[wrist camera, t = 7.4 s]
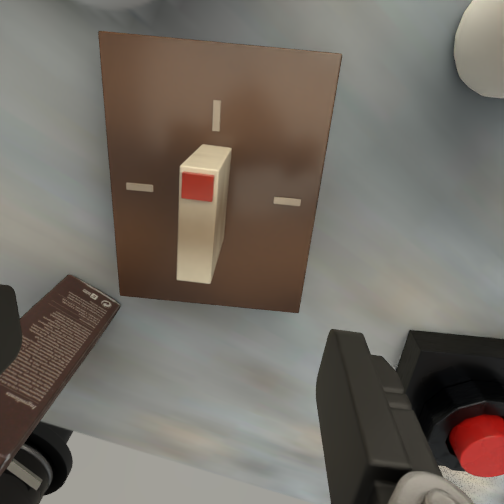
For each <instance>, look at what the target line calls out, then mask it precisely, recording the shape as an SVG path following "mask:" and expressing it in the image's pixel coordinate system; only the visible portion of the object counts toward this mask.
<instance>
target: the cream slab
mask: <svg viewBox="0 0 504 504" xmlns="http://www.w3.org/2000/svg"><path fill="white" fill-rule="evenodd" d="M231 151H232V149H231V148H229V147H221V146H213V145H205V144H202V145H201V146H200V147H199V148H198V149H197V150H196V151H195V152H194V153H193V154H192V155H191V156H190V157H189V158H188V159H187V160H186V161H184V162H183V163H182V164H181V165H180V174H179V209H178V244H177V280H181V281H189V282H197V283H206V284H210V283H211V280H212V277H213V274H214V270H215V267H216V263H217V260H218V257H219V253H220V250H221V246H222V243H223V240H224V231H225V219H226V208H227V197H228V185H229V174H230V162H231Z"/></svg>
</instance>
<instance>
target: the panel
mask: <svg viewBox="0 0 504 504" xmlns="http://www.w3.org/2000/svg"><path fill="white" fill-rule="evenodd" d="M98 35H99V47H100V59H101V71H102V83H103V96H104V108H105V120H106V132H107V144H108V156H109V168H110V180H111V193H112V205H113V217H114V229H115V241H116V253H117V265H118V277H119V290H120V296H129V297H139V298H149V299H159V300H170V301H180V302H190V303H200V304H211V305H221V306H231V307H241V308H252V309H262V310H272V311H282V312H293V313H299V308H300V302H301V296H302V291H303V285H304V279H305V273H306V267H307V261H308V255H309V249H310V243H311V237H312V231H313V225H314V219H315V214H316V208H317V202H318V196H319V190H320V184H321V178H322V172H323V166H324V160H325V154H326V148H327V142H328V137H329V131H330V125H331V119H332V113H333V107H334V101H335V95H336V89H337V83H338V77H339V71H340V65H341V60H342V54H339V53H328V52H317V51H307V50H296V49H286V48H275V47H264V46H254V45H243V44H232V43H222V42H211V41H200V40H190V39H179V38H169V37H158V36H147V35H137V34H126V33H115V32H105V31H99V32H98ZM202 144H205V145H213V146H221V147H229V148H231V149H232V151H231V162H230V174H229V185H228V197H227V208H226V219H225V231H224V240H223V243H222V246H221V250H220V253H219V257H218V260H217V263H216V267H215V270H214V274H213V277H212V280H211V283H210V284H206V283H197V282H189V281H181V280H177V244H178V209H179V174H180V165H181V164H182V163H183V162H184V161H186V160H187V159H188V158H189V157H190V156H191V155H192V154H193V153H194V152H195V151H196V150H197V149H198V148H199V147H200V146H201V145H202Z"/></svg>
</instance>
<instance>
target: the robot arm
mask: <svg viewBox="0 0 504 504" xmlns="http://www.w3.org/2000/svg"><path fill="white" fill-rule="evenodd" d="M21 345H22V330H21V324H20V318H19V312H18V307H17V301H16V295H15V292H14V290H13V288H12V287H11V286H9V285H1V284H0V375H1V374H2V373H3V372H4V371H5V370H6V369H7V368H8V367H9V366H10V364H11V363H12V362H13V361H14V360H15V359H16V357H17V355H18V353H19V351H20V349H21ZM316 402H317V409H318V416H319V423H320V430H321V437H322V444H323V451H324V457H325V464H326V471H327V478H328V485H329V492H330V499H331V504H474V502H473V501H472V500H471V499H470V498H469V497H468V496H467V495H466V494H465V493H464V492H463V491H462V490H461V489H460V488H459V487H457V486H456V485H454V484H453V483H452V482H450V481H448V480H447V479H445V478H443V476H442V474H441V471H440V469H439V467H438V465H437V462H436V460H435V458H434V456H433V453H432V451H431V449H430V446H429V444H428V442H427V440H426V437H425V435H424V433H423V431H422V428H421V426H420V424H419V421H418V419H417V417H416V415H415V412H414V410H412V405H411V403H410V401H409V399H408V396H407V395H406V394H405V390H404V387H403V385H402V383H401V380H400V378H399V376H398V374H397V372H396V371H395V370H394V369H393V368H392V367H391V366H390V364H389V363H388V362H387V361H386V360H385V359H384V358H383V357H382V356H376V355H371V354H370V351H369V349H368V346H367V343H366V341H365V338H364V336H363V334H362V333H358V332H351V331H343V330H336V329H331V330H330V332H329V335H328V338H327V342H326V346H325V349H324V353H323V357H322V361H321V364H320V368H319V372H318V376H317V382H316ZM54 475H55V468H54V464H53V462H52V460H51V459H50V457H49V456H48V455H47V454H46V453H45V452H44V451H43V450H42V449H41V448H40V447H38V446H37V445H35V444H34V443H32V442H30V441H28V440H26V441H25V443H24V444H23V445H22V446H21V448H20V449H19V451H18V452H17V453H16V455H15V456H14V458H13V459H12V461H11V462H10V464H9V465H8V466H7V468H6V469H5V471H4V472H3V473H2V475H1V476H0V504H39V503H40V501H41V499H42V498H43V496H44V494H45V492H46V490H47V489H48V487H49V485H50V484H51V482H52V480H53V478H54Z"/></svg>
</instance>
